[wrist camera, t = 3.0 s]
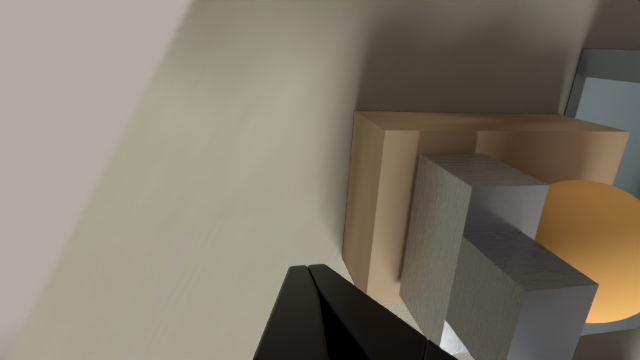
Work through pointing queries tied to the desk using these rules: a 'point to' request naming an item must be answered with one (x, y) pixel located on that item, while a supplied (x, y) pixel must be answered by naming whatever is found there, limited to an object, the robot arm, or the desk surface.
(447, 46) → the desk surface
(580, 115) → the tray
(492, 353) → the gray zigzag block
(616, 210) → the ball
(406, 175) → the tan block
